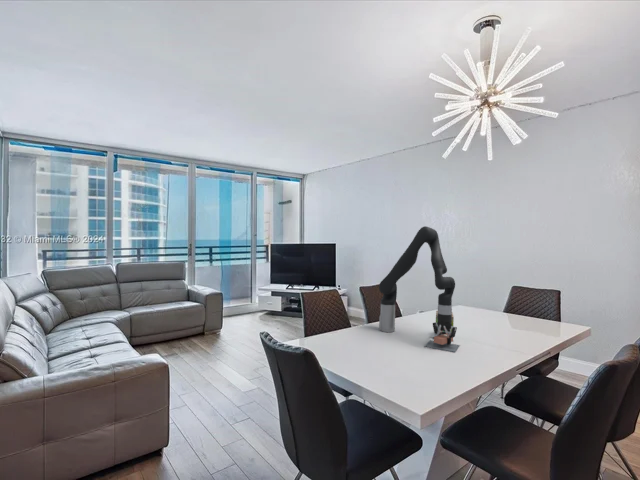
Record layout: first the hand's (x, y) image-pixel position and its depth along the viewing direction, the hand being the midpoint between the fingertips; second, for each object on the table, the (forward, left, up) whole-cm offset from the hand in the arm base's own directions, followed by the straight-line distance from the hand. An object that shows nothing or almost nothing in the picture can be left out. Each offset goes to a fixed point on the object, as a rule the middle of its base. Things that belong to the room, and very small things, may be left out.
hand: (444, 343), depth 188 cm
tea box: (-4, +19, -2) cm, 20 cm away
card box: (-2, -6, +2) cm, 7 cm away
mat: (-1, -1, -2) cm, 2 cm away
